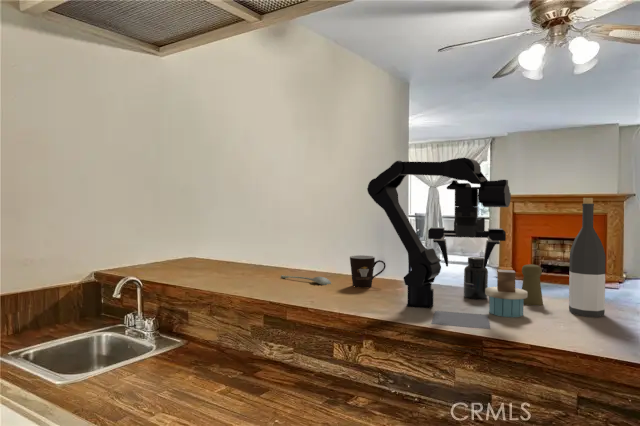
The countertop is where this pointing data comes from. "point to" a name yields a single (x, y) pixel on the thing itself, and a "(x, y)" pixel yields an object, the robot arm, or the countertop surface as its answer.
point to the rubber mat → (461, 319)
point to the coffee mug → (363, 270)
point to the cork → (532, 284)
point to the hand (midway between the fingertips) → (465, 267)
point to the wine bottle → (587, 269)
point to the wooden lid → (506, 287)
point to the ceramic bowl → (506, 307)
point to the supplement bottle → (475, 278)
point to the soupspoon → (317, 279)
